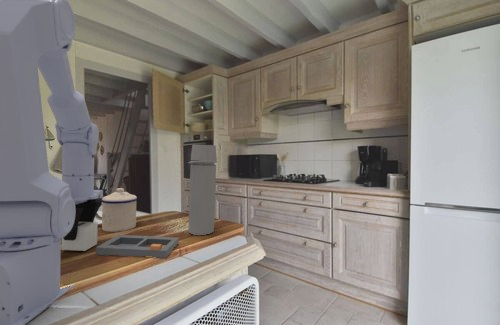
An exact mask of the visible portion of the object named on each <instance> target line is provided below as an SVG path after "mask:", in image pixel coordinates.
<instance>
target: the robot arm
mask: <svg viewBox="0 0 500 325" xmlns="http://www.w3.org/2000/svg"><path fill="white" fill-rule="evenodd" d="M74 15H75V14H74V11H73V8H72V6H71V4H70V2H69V1H68V0H0V325H27V324H29V322H30V321H31V320H33V319H35V317H37V316H38V315H40V314H41V313H42V312H43V311H45V310H46V309H47V308H49V307H50V306H52V303H53V302H55V301H57V300H58V299H59V298H60V297H61V296H63V295H64V294H66V293H67V292H68V291H70V290H71V289H73V288H74V287H75V284H74V285H72V286H69V287H68V286H67V287H68V288H67V287H65V288H62V289H60V283H61V255H62V254H61V252H62V251H61V250H62V237H63V238H64V240H75V239H76V236H77V230H78V222H94V221H95V219H96V218H95V215H96V213H97V214H98V211H99V209H100V208H101V207H102V206H101V205H102V201H101V200H97V199H102V198H103V197H104V190H103V189H94V188H95V155H97V151H98V144H99V143H98V142H99V135H100V134H99V127H98V125H97V124H96V123H93V121H92V119H91V116H90V114H89V113H90V112H89V110H88V106H87V103H86V100H85V97H84V95H83V93H81V92H80V91H77V90H76V89H75V86H74V80H73V75H72V70H71V66H70V65H71V64H70V62H69V56H68V52H69V51H70V49H71V48H72V45H73V41H74V37H75V34H76V20H75V16H74ZM39 73H40V74H41V75H42V77H43V79H44V82H45V83H46V85H47V87H48V89H49V90H50V94H49V95H48V96H47V99H46V100H47V103H48V106H49V108H50V110H51V112H52V115H53V116H54V119H55V121H56V123H55V124H54V126H55V127H54V128H55V129H56V131H55V132H56V140H57V142H58V144H59V145H60V146H62V148H61V149H62V151H61V153H62V155H61V156H62V157H61V159H62V162H61V166H62V167H61V179H60V178H59V177H57V176H55V175H54V174H52V173H51V172H50V170H49V161H48V152H47V143H46V133H45V132H46V130H45V123H44V116H43V105H42V94H41V88H40V87H41V85H40V77H39V76H40V75H39Z"/></svg>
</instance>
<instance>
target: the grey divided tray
mask: <svg viewBox="0 0 500 325" xmlns="http://www.w3.org/2000/svg"><path fill="white" fill-rule="evenodd" d="M179 240H180V238H179V237H173V236H172V237H171V236H154V235H151V236H149V235H131V234H130V235H129V234H117V235H115V236H113V237H111V238H109V240H107V241H105V242H103V243H101V244H99V245H98V246H97V245H96V247H95V255H96V256H108V255H123V256H122V257H127V256H152V257H156V258H155V259H165V260H167V258H168V256H170V254H171V253H172V252H173V251H174V250H175V249H174V247H175V246H176V245H177V244H178V243H179V242H180V241H179ZM179 244H180V243H179ZM179 244H178V245H179ZM148 245H151V246H150V247H146V246H148ZM162 245H166V246H165V247H164V248H162ZM178 245H177V246H178ZM173 249H174V250H173ZM172 250H173V251H172ZM171 251H172V252H171Z"/></svg>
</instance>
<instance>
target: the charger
mask: <svg viewBox="0 0 500 325" xmlns="http://www.w3.org/2000/svg"><path fill="white" fill-rule="evenodd" d="M98 224H99V223H98V222H96V221H95V222H94V221H93V222H78V230H77V236H76V239H75V240H64V238H63V237H62V238H61V250H62V251H77V252H79V251H83V252H85V251H87V250H90V249H91V248H93V247H94V246H97V244H98V228H99V227H98V226H99V225H98Z"/></svg>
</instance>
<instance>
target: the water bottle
mask: <svg viewBox="0 0 500 325" xmlns="http://www.w3.org/2000/svg"><path fill="white" fill-rule="evenodd" d="M191 146H192V147H191V153H190V161H188V162H187V163H188V164H190V167H189V168H190V169H189V170H190V173H189V201H188V202H189V205H188V206H189V207H188V209H189V210H188V212H189V213H188V233H189V234H190V233H191V234H193V235H192V236H196V235H205V236H207V235H206V234H210V233H212V232H213V233H214V232H215V218H216V217H215V216H216V215H215V213H216V211H215V210H216V209H215V208H216V180H217V165H216V164H217V162H218V161H217V160H218V159H217V145H213V144H192V145H191ZM213 233H212V234H213ZM191 234H190V235H191ZM210 235H211V234H210Z"/></svg>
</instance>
